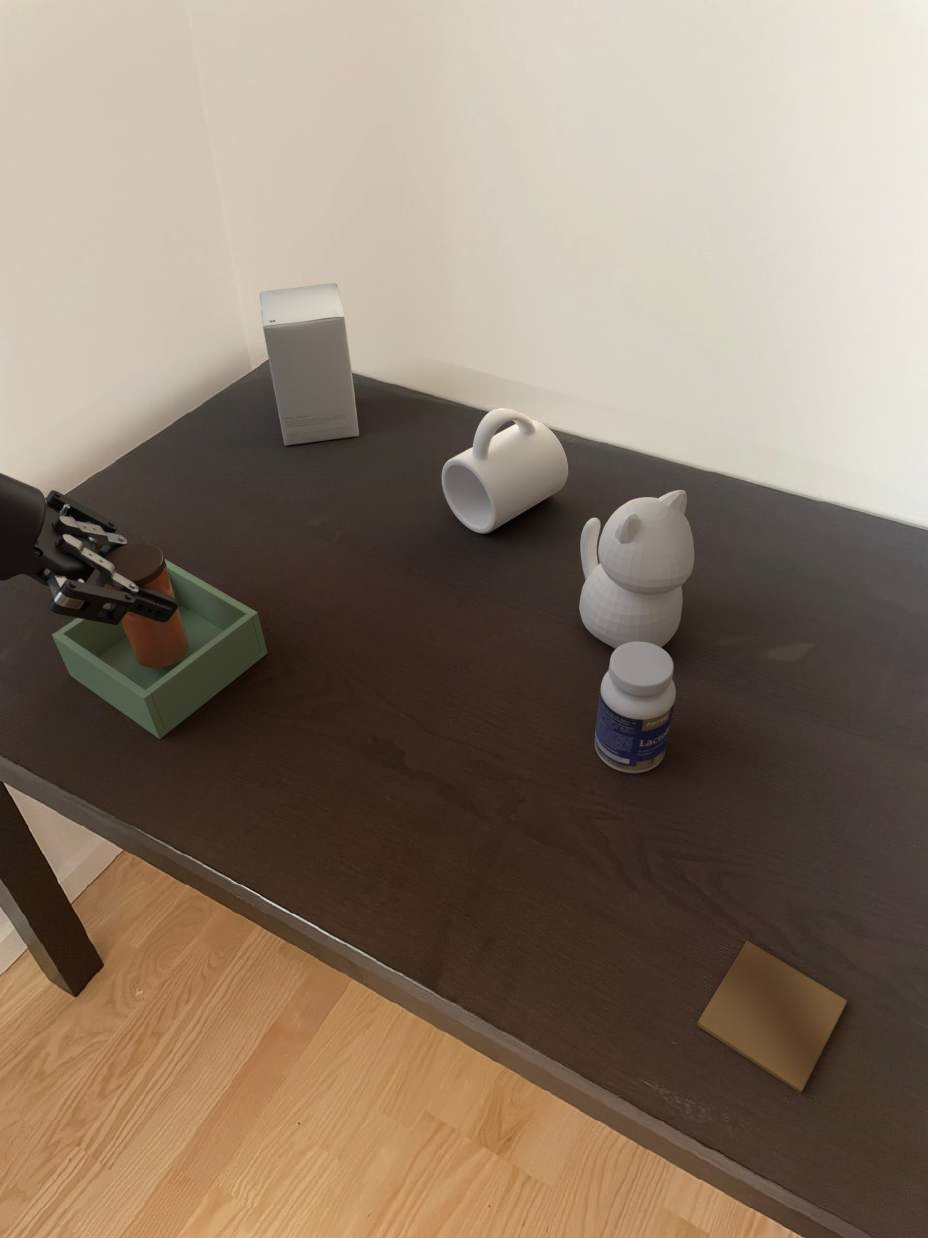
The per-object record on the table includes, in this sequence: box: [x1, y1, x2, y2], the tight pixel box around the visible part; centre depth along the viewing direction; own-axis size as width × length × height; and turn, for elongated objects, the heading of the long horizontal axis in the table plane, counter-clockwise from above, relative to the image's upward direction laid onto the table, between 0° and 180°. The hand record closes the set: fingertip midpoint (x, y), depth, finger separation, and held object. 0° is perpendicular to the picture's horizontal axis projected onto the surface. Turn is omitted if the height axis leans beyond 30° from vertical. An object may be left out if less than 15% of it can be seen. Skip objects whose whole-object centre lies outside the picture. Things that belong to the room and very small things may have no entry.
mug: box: [441, 407, 569, 535], centre depth 98 cm, size 8×10×12 cm
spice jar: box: [104, 542, 189, 668], centre depth 82 cm, size 5×5×10 cm
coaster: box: [696, 940, 848, 1094], centre depth 62 cm, size 7×7×1 cm
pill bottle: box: [594, 642, 677, 774], centre depth 75 cm, size 6×6×10 cm
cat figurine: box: [578, 489, 695, 650], centre depth 84 cm, size 9×12×15 cm
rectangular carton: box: [259, 282, 360, 446], centre depth 110 cm, size 9×9×15 cm
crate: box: [51, 558, 268, 740], centre depth 85 cm, size 12×12×5 cm
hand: (165, 590), depth 82 cm, fingers closed on spice jar, 5 cm apart
